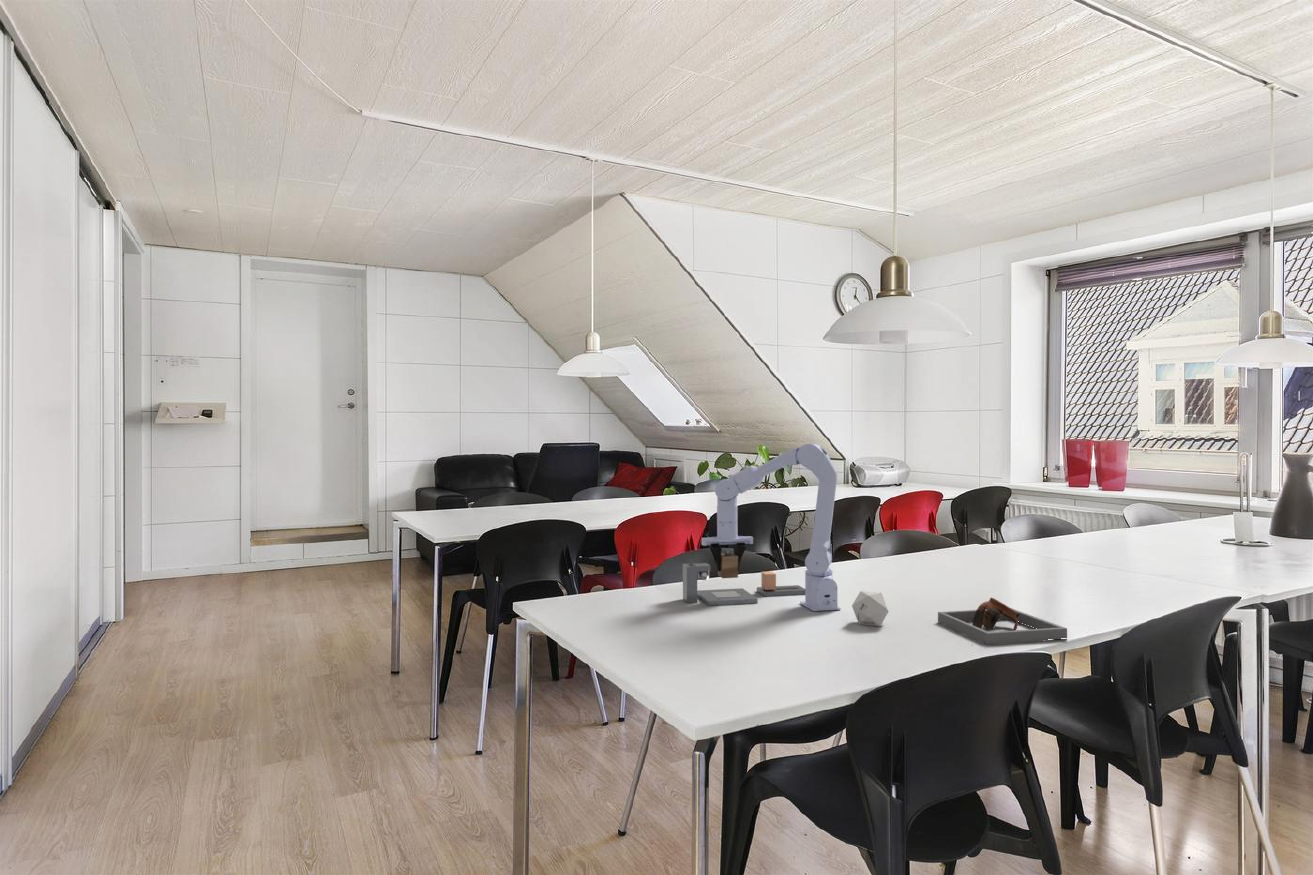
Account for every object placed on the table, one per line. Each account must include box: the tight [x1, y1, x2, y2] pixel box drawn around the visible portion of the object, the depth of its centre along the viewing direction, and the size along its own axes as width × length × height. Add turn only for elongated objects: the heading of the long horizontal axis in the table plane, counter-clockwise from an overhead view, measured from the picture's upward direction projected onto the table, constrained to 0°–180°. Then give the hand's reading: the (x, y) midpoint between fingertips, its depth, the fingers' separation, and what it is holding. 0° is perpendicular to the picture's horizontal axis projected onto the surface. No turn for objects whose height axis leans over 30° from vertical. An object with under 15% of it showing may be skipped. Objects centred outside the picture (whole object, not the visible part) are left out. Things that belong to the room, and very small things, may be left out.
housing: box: [717, 548, 739, 579], centre depth 213 cm, size 4×4×8 cm
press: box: [682, 562, 759, 607], centre depth 215 cm, size 14×19×10 cm
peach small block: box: [760, 571, 777, 590], centre depth 222 cm, size 4×3×4 cm
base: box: [756, 584, 805, 597], centre depth 223 cm, size 7×13×1 cm, turn 101°
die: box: [851, 590, 889, 627], centre depth 187 cm, size 8×9×10 cm
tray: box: [937, 607, 1068, 646], centre depth 180 cm, size 20×20×2 cm
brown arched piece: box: [971, 597, 1020, 631], centre depth 181 cm, size 12×10×8 cm
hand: (727, 570), depth 213 cm, fingers closed on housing, 4 cm apart
